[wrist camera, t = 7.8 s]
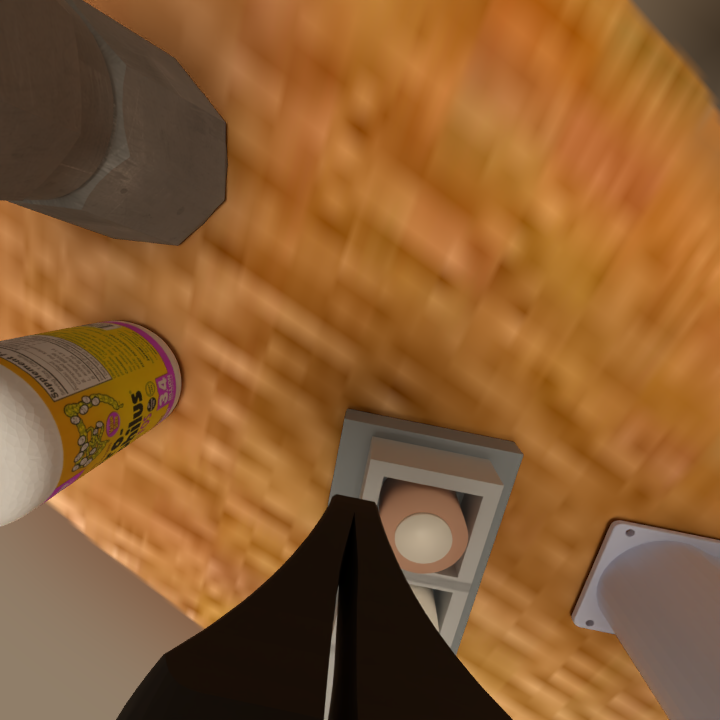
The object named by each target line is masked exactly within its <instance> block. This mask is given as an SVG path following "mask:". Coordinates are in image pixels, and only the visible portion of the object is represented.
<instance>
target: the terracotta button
mask: <svg viewBox="0 0 720 720" xmlns="http://www.w3.org/2000/svg"><path fill="white" fill-rule="evenodd" d="M379 515H380V518H381V521H382V524H383V527H384V530H385V533H386V535H387V538H388V540H389V543H390V545H391V547H392V550H393V552H394V555H395V557H396V559H397V561H398V563H399V566H400V568H401V569H403V570H406V571H409V572H413V573H420V574H427V573H435V572H439V571H442V570H444V569H446V568H448V567H450V566H452V565H453V564H454V563H456V562H457V561H458V560H459V559H460V557H461V556H462V555H463V553H464V551H465V549H466V547H467V543H468V530H467V526H466V523H465V519H464V516H463V513H462V510H461V507H460V504H459V501H458V498H457V495H456V492H455V491H453V490H448V489H443V488H438V487H433V486H428V485H423V484H418V483H413V482H408V481H403V480H399V479H394V478H389V477H388V478H387V479H386V480H385V482H384V483H383V485H382V487H381V490H380V495H379Z"/></svg>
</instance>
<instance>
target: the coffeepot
mask: <svg viewBox="0 0 720 720" xmlns="http://www.w3.org/2000/svg"><path fill="white" fill-rule="evenodd" d="M225 141H226V122H225V121H224V120H223V119H222V117H221V116H220V115H219V114H218V112H217V111H216V110H215V109H214V107H213V106H212V105H211V103H210V102H209V101H208V99H207V98H206V97H205V95H204V94H203V93H202V92H201V91H200V89H199V88H198V87H197V86H196V84H195V83H194V82H193V81H192V79H191V78H190V77H189V76H188V74H187V73H186V72H185V70H184V69H183V68H182V67H181V65H180V64H179V63H178V62H177V60H176V59H175V58H174V57H172V56H170V55H169V54H167V53H166V52H164V51H162V50H161V49H159V48H158V47H156V46H155V45H153V44H151V43H150V42H148V41H147V40H145V39H143V38H142V37H140V36H139V35H137V34H135V33H134V32H132V31H131V30H129V29H127V28H126V27H124V26H123V25H121V24H119V23H118V22H116V21H115V20H113V19H111V18H110V17H108V16H107V15H105V14H103V13H102V12H100V11H99V10H97V9H95V8H94V7H92V6H91V5H89V4H87V3H86V2H84V1H83V0H0V200H6V201H9V202H11V203H14V204H17V205H20V206H22V207H25V208H28V209H31V210H34V211H37V212H40V213H43V214H45V215H48V216H51V217H54V218H57V219H60V220H63V221H65V222H68V223H71V224H74V225H77V226H80V227H83V228H85V229H88V230H91V231H94V232H97V233H100V234H103V235H105V236H108V237H111V238H115V239H124V240H133V241H142V242H150V243H159V244H168V245H177V246H178V245H179V244H180V243H181V242H182V241H184V240H185V239H186V238H187V237H188V236H189V235H190V234H191V233H192V232H194V231H195V230H196V229H198V228H199V227H200V226H202V225H203V224H204V223H205V222H206V220H207V219H208V218H209V217H210V216H211V214H212V213H213V212H214V210H215V209H216V208H217V207H218V206H219V205H220V204H221V203H222V202H223V201H224V200H225V186H226V175H227V165H228V163H227V149H226V143H225Z"/></svg>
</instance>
